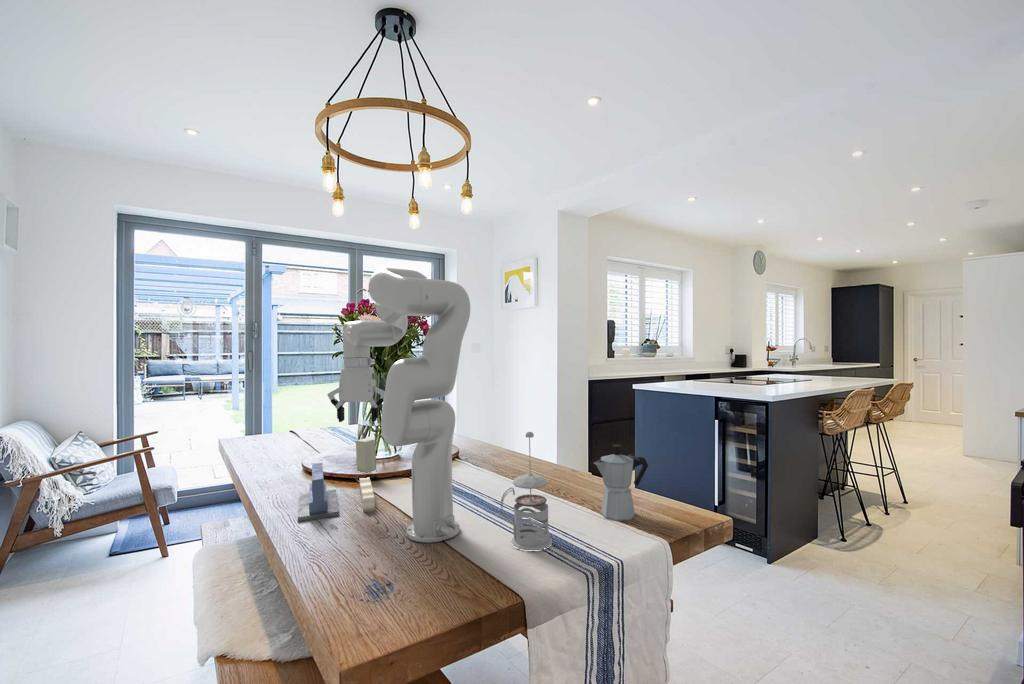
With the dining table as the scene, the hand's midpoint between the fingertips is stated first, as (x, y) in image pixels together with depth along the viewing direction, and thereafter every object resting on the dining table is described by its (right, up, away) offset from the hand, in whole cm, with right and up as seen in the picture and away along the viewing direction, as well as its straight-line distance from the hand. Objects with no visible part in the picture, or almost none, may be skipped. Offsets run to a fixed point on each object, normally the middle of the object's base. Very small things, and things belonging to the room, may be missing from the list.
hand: (358, 421), depth 143 cm
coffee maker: (+74, -21, -19) cm, 79 cm away
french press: (+49, -22, -35) cm, 64 cm away
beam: (+4, -23, -4) cm, 23 cm away
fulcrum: (-8, -22, -9) cm, 25 cm away
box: (-3, -22, +18) cm, 29 cm away
